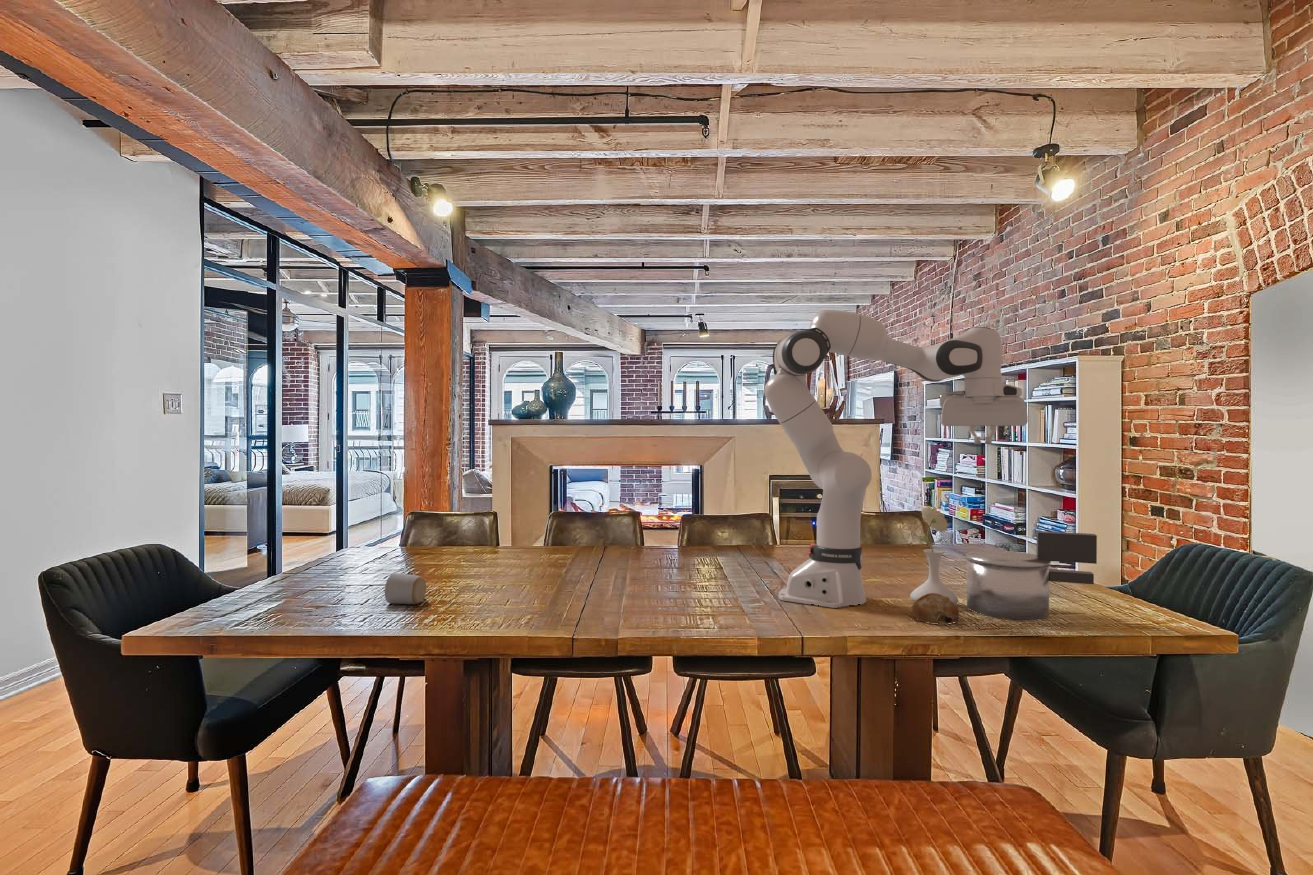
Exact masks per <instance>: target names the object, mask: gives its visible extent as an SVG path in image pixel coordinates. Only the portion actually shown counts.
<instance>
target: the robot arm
mask: <svg viewBox="0 0 1313 875" xmlns="http://www.w3.org/2000/svg"><path fill="white" fill-rule="evenodd" d="M829 353H833V354H838V355H840V356H841V355H842V356H846V357H850V358H853V359H854V358H855V359H860V360H868V361H870V360H872V361H881V362H885V363H887V364H891V365H895V366H898V367H901V368H905V369H908V370H909V371H912V372H913V373H915V374H916V375H917V376H919V377H920V378H921V379H923V380H925V381H927V382H930V383H937V382H941V381H944V380H946V379H951V378H955V377H959V376H963V378H964V390H955V391H954V390H952V391H951V390H947V391H945V392H944V393H941V395H940V396H939V406H940V408H941V414H940V424H941V425H942V426H943V427H969V432H970V433H971V434H972V436H973V438H974V439H973V441H974V442H973V443H974V445H975V444H976V445H979V444H980V445H981V444H982V441H981V440H982V437H981V436H978V435H977V433H976V432H975V431H976V430H977V427H989V431H991V432H990V434H989V436H984V443H985V445H988V444H989V445H991V444H992V443H993V440H992V439H993V436H994V435H995V434H996V432H997V428H998V427H1013V426H1014V427H1023V426H1026V425H1027V424H1028V421H1029V419H1028V417H1029V416H1028V409H1027V405H1026V404H1027V403H1026V401H1025V399H1024V398H1023V397H1021V396H1022V394H1023V389H1022V388H1021V387H1018V386H1014V385H1012V384H1011V385H1010V384H1007V383H1004V382H1003V375H1002V370H1001V369H1002V364H1003V344H1002V338H1001V335H1000V333H999V332H998V331H997V330H995V329H994V328H991V327H985V326H982V327H981V326H974V327H970V328H968V329H967V330H966V331H965V332H963V333H962V334H960V335H958V336H956V337H953V338H951V339H947V340H944V341H941V342H938V343H935V344H931V345H926V346H916V345H913V344H908V343H907V342H906V343H905V342H902V341H899V340H896V339H893V338H891V337H889V335H888V331H887V328H886V326H885V325H884V323H883V322H881V321H879V320H877V319H875V318H873V317H870V316H868V315H864V314H859V313H855V312H850V311H843V310H838V309H837V310H835V309H823V310H819V311H818V312H817V313H816V314H815V315H814V316H813V318H812V320H811V321H810V324H809V328H808V329H805V330H801V331H797V332H793V333H790V334H787V335H785V336H784V337H782V338H781V339H780V340H779V341H778V342H777V343H776V344H775V346H774V348H773V351H772V363H773V364H772V365H773V376H771V378H769V379H768V380H767V382H766V384H765V386H764V390H763V391H764V396H765V398H766V401H767V404H768V405H769V408H770V410H771V412H772V413H773V415H774V416H775V418H776V420H777V421H778V423H779V425H780V426H781V428H782V429H783V430H784V432H785V433H786V435H787V437H788V438H789V439H790V441H791V442H792V443H793V446H794V447H795V448H796V450H797V452H798V454H799V457H800V458H801V461H802V463H803V465H804V467H805V468H806V470H807V472H808V474H809V477H810V479H811V481H812V482H813V483H814V484H815V485H816V487H818V488H819V489H821V490H822V497H821V503H820V507H819V510H818V512H817V513H816V514H817V515H816V543H811V544H810V545H809V547H808V557H809V558H808V559H807V560H805V561H804V562H802V563H801V564H800V565H798V566H797V567H795V568H794V569H793V570H791V572H790V574H789V576H788V578H787V583H786V587H783V588H782V589H780V590H779V591H778V597H777V598H778V599H779V600H781V601H786V602H792V603H799V604H806V605H811V604H814V605H813V606H818V605H819V606H818V607H826V608H831V609H832V608H833V609H835V608H836V609H837V608H838V607H839V608H842V606H843V607H850V606H849V605H854V606H859V605H858V604H860V605H863V604H865V603H867V598H866V594H865V589H864V585H863V577H862V568H863V547H862V546H861V519H862V518H861V517H862V511H863V505H864V502H865V501H864V500H865V496H866V490H867V488H868V487H869V485H870V483H871V481H872V469H871V466H870V464H869V463H868V462H867V460H865V459H864V458H863V457H862V456H860V455H859V454H856V453H854V452H852V451H850V452H849V451H845V450H844V449H843V448H842V447H841V445H840V443H839V441H838V438H837V437H836V434H835V431H834V427H833V424H832V422H831V421H830V419H829V417H828V416H827V415H826V413H825V411H824V410H823V408H822V407H821V405H820V404H819V402H818V401H817V399H816V398H815V397H814V396H813V394H812V392H811V391H810V390H809V387H808V385H807V382H806V381H807V380H806V379H807V375H808V374H810V373H813V372H815V371H817V369H818V368H819V367H821V365H822V363H823V362H824V360H825V358H826V357H827V355H828V354H829ZM839 608H838V609H839Z"/></svg>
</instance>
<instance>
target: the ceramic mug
mask: <svg viewBox="0 0 1313 875" xmlns="http://www.w3.org/2000/svg"><path fill="white" fill-rule="evenodd" d="M426 593H427V582H426V579H425V578H424V577H423V576H421V575H420V576H419V575H415V574H407V573H400V572H393V573H391V574H390V575H389V577H388V578H387V580H386V583H385V586H384V599H385V601H386V602H387V603H388V604H393V605H394V604H395V605H411V604H412V605H418V604H421V602H422V601H424V599H425V597H426Z"/></svg>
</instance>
